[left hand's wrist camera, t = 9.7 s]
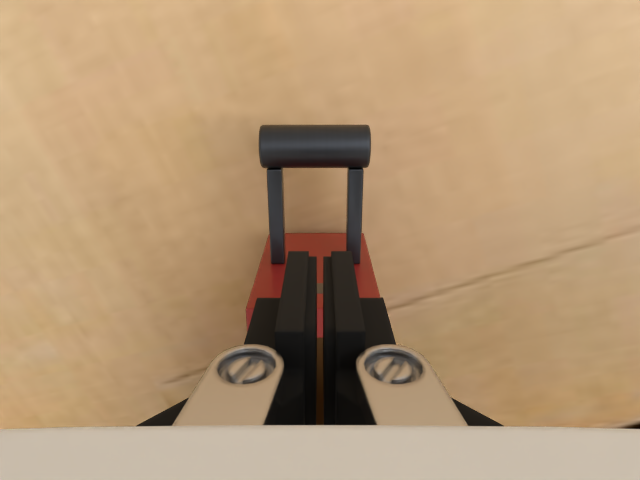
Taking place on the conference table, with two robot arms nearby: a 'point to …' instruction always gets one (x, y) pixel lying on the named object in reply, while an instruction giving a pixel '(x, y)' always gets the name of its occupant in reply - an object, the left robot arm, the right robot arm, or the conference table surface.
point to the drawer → (313, 152)
